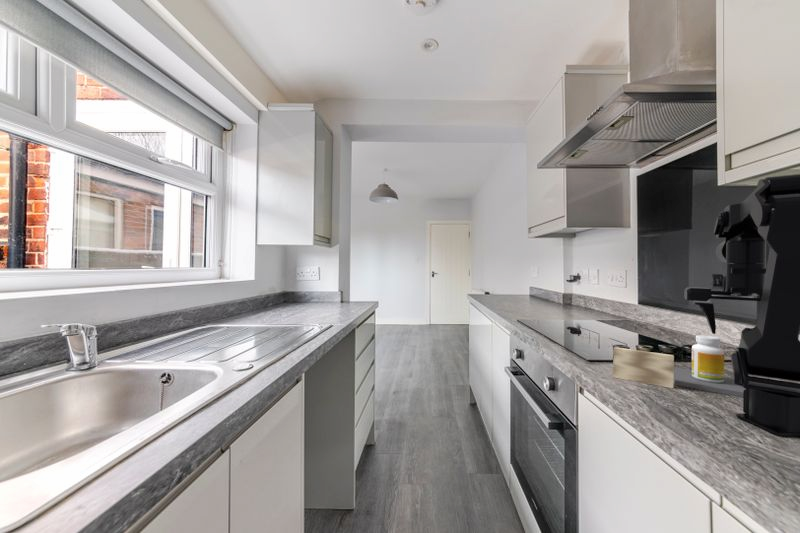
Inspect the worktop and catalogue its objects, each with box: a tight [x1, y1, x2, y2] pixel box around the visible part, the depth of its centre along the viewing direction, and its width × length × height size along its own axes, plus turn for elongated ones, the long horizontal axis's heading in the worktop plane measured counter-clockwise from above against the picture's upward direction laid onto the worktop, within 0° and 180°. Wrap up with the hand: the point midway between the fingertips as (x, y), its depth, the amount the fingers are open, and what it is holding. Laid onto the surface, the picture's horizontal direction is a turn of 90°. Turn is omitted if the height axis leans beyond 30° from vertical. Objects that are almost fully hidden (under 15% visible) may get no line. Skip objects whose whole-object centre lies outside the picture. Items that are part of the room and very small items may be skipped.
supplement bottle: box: [690, 334, 725, 383], centre depth 72 cm, size 5×5×10 cm
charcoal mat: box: [673, 367, 746, 398], centre depth 72 cm, size 12×12×1 cm
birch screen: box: [612, 346, 675, 389], centre depth 73 cm, size 11×2×7 cm, turn 53°
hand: (743, 336), depth 67 cm, fingers open, 9 cm apart
